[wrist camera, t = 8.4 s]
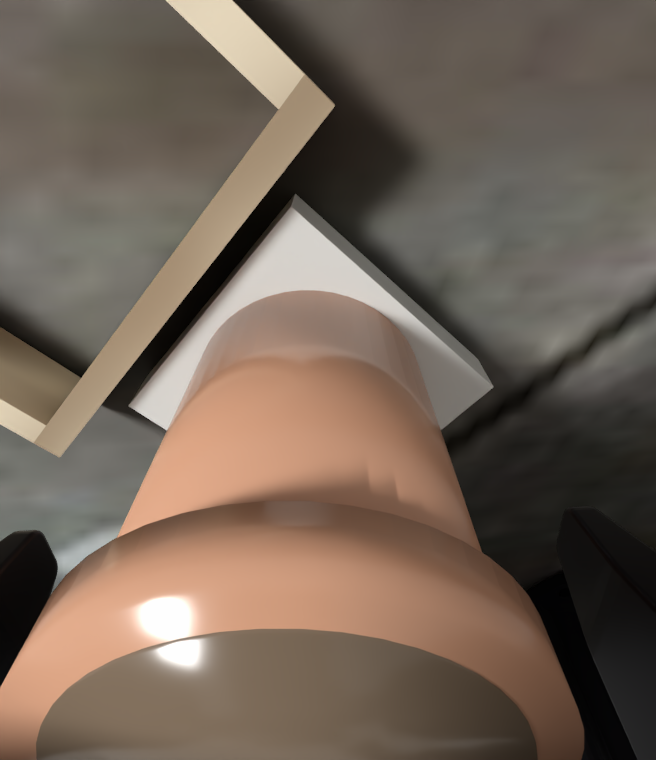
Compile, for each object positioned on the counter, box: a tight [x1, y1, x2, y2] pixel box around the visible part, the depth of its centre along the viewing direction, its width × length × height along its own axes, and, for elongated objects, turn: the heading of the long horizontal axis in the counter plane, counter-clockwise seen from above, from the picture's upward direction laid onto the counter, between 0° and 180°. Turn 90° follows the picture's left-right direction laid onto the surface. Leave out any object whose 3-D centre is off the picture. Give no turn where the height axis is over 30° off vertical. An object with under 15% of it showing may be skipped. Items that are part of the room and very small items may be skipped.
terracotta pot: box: [0, 290, 584, 760], centre depth 9 cm, size 6×6×8 cm
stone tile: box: [128, 194, 493, 430], centre depth 13 cm, size 6×6×2 cm
